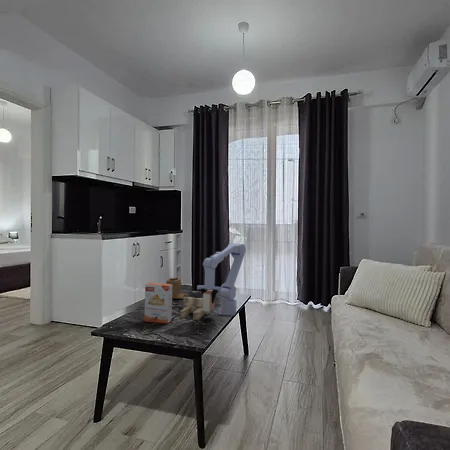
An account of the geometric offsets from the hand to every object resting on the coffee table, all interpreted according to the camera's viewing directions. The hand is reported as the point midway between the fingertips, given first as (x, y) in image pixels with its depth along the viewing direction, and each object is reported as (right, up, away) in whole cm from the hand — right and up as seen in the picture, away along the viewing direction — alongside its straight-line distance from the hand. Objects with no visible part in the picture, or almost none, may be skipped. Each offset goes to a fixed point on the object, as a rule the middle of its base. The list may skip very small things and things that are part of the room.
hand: (209, 302), depth 184 cm
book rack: (-10, -9, +5) cm, 15 cm away
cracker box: (-28, -9, -7) cm, 30 cm away
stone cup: (-26, -9, +46) cm, 54 cm away
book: (0, -4, 0) cm, 4 cm away
